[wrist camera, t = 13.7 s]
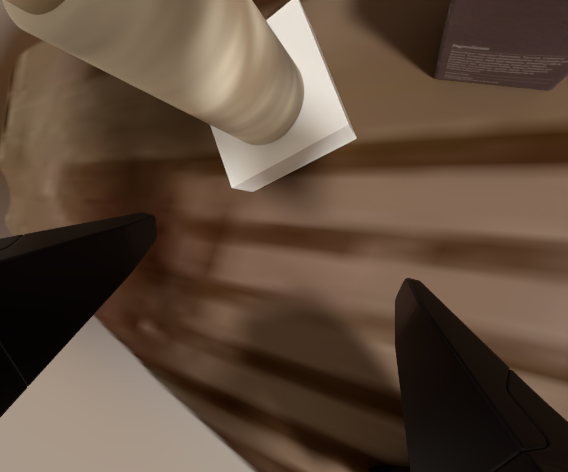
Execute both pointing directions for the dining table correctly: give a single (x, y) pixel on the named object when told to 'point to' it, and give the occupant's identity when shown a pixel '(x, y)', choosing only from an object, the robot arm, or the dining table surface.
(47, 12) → the pepper mill
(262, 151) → the stand
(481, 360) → the robot arm
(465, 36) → the box
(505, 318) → the dining table surface
